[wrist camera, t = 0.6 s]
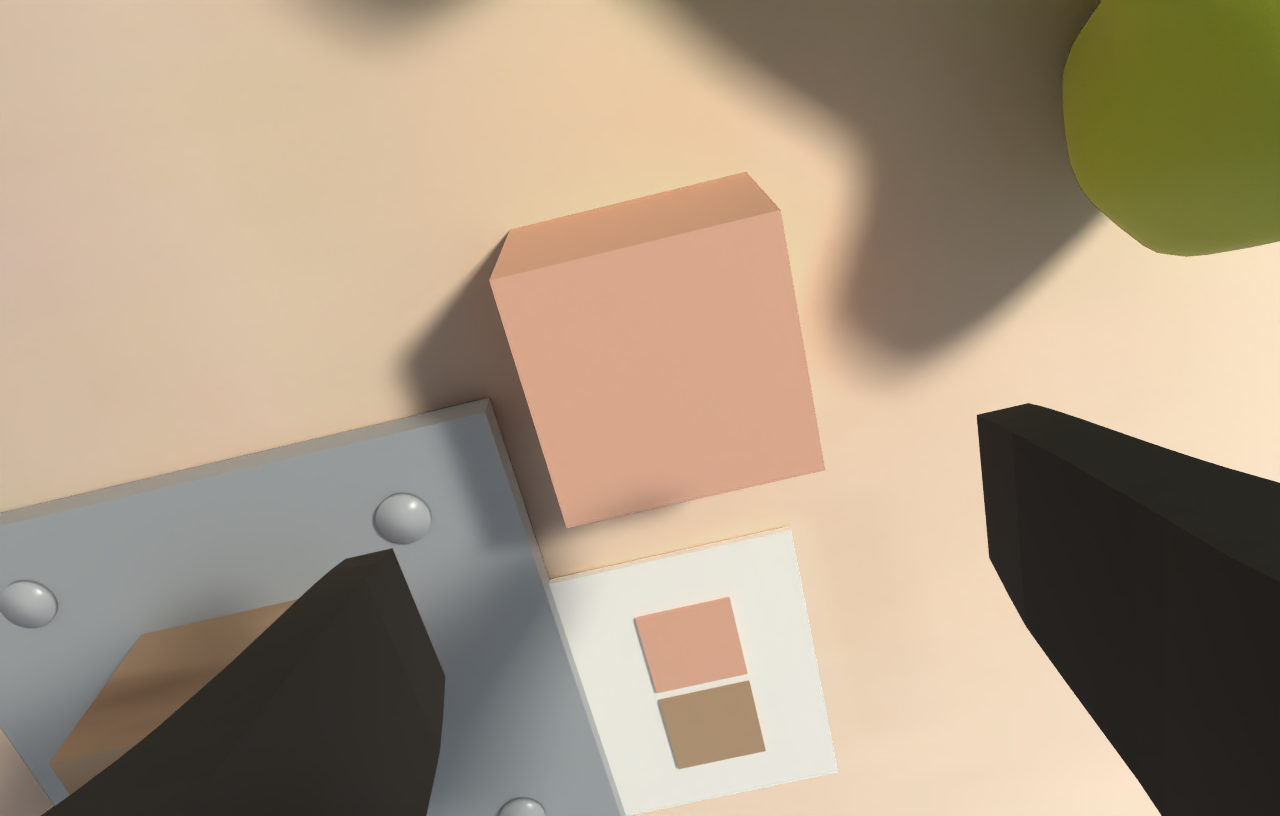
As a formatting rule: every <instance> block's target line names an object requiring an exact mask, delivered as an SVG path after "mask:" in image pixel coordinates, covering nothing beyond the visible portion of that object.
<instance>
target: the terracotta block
mask: <svg viewBox="0 0 1280 816" xmlns="http://www.w3.org/2000/svg"><path fill="white" fill-rule="evenodd" d="M489 282H490V285H491V288H492V291H493V295H494V298H495V301H496V304H497V307H498V311H499V314H500V317H501V320H502V323H503V327H504V330H505V333H506V336H507V339H508V343H509V346H510V349H511V352H512V355H513V359H514V362H515V365H516V368H517V371H518V374H519V378H520V381H521V384H522V387H523V390H524V394H525V397H526V400H527V403H528V406H529V410H530V413H531V416H532V419H533V422H534V426H535V429H536V432H537V435H538V438H539V442H540V445H541V448H542V451H543V454H544V458H545V461H546V464H547V467H548V470H549V474H550V477H551V480H552V483H553V486H554V490H555V493H556V496H557V499H558V502H559V506H560V509H561V512H562V515H563V518H564V522H565V525H566V528H571V527H575V526H580V525H584V524H588V523H593V522H597V521H602V520H606V519H611V518H615V517H620V516H624V515H628V514H633V513H637V512H642V511H646V510H651V509H655V508H659V507H664V506H668V505H673V504H677V503H682V502H686V501H690V500H695V499H699V498H704V497H708V496H713V495H717V494H722V493H726V492H730V491H735V490H739V489H744V488H748V487H753V486H757V485H761V484H766V483H770V482H775V481H779V480H784V479H788V478H792V477H797V476H801V475H806V474H810V473H815V472H819V471H824V470H825V467H824V461H823V455H822V449H821V443H820V438H819V432H818V426H817V420H816V414H815V408H814V403H813V397H812V391H811V385H810V379H809V374H808V368H807V362H806V356H805V350H804V344H803V339H802V333H801V327H800V321H799V315H798V309H797V304H796V298H795V292H794V286H793V280H792V274H791V269H790V263H789V257H788V251H787V245H786V240H785V234H784V228H783V222H782V216H781V210H780V209H779V208H778V207H777V206H776V204H775V203H774V202H773V201H772V200H771V199H770V198H769V197H768V196H767V194H766V193H765V192H764V191H763V190H762V189H761V188H760V187H759V186H758V185H757V183H756V182H755V181H754V180H753V179H752V178H751V177H750V176H749V175H748V173H747V172H743V173H739V174H735V175H731V176H727V177H723V178H719V179H715V180H711V181H707V182H703V183H698V184H694V185H690V186H686V187H682V188H678V189H674V190H670V191H666V192H662V193H658V194H654V195H650V196H646V197H641V198H637V199H633V200H629V201H625V202H621V203H617V204H613V205H609V206H605V207H601V208H597V209H593V210H589V211H585V212H580V213H576V214H572V215H568V216H564V217H560V218H556V219H552V220H548V221H544V222H540V223H536V224H532V225H528V226H523V227H519V228H515V229H511V230H510V231H509V233H508V236H507V238H506V240H505V243H504V245H503V248H502V250H501V253H500V255H499V258H498V260H497V262H496V265H495V267H494V270H493V272H492V275H491V277H490V280H489Z"/></svg>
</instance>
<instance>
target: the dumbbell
mask: <svg viewBox="0 0 1280 816" xmlns="http://www.w3.org/2000/svg"><path fill="white" fill-rule="evenodd" d="M1100 1H1101V2H1100V4H1099V5H1098V7H1097V8H1096V9H1095V11H1094V12H1093V14H1092V15H1091V17H1090V18H1089V20H1088V21H1087V22H1086V24H1085V25H1084V27H1083V28H1082V30H1081V31H1080V33H1079V35H1078V36H1077V38H1076V40H1075V41H1074V43H1073V45H1072V48H1071V50H1070V53H1069V55H1068V58H1067V61H1066V64H1065V67H1064V72H1063V80H1062V99H1063V113H1064V127H1065V136H1066V144H1067V150H1068V155H1069V159H1070V164H1071V166H1072V169H1073V172H1074V174H1075V176H1076V178H1077V180H1078V183H1079V185H1080V187H1081V189H1082V191H1083V192H1084V193H1085V194H1086V196H1087V197H1088V198H1089V199H1090V200H1091V202H1092V203H1093V204H1094V205H1095V206H1096V207H1097V208H1098V209H1099V210H1100V211H1102V212H1103V213H1104V214H1105V215H1106V216H1107V217H1108V218H1109V219H1110V220H1112V221H1113V222H1114V223H1115V224H1116V225H1117V226H1119V227H1120V228H1121V229H1123V230H1124V231H1125V232H1126V233H1128V234H1129V235H1130V236H1131V237H1133V238H1134V239H1135V240H1137V241H1138V242H1139V243H1141V244H1142V245H1143V246H1145V247H1147V248H1149V249H1151V250H1153V251H1155V252H1157V253H1163V254H1170V255H1178V256H1186V257H1187V256H1199V255H1209V254H1214V253H1220V252H1226V251H1232V250H1238V249H1244V248H1250V247H1254V246H1259V245H1264V244H1269V243H1274V242H1278V241H1280V0H1100Z"/></svg>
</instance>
